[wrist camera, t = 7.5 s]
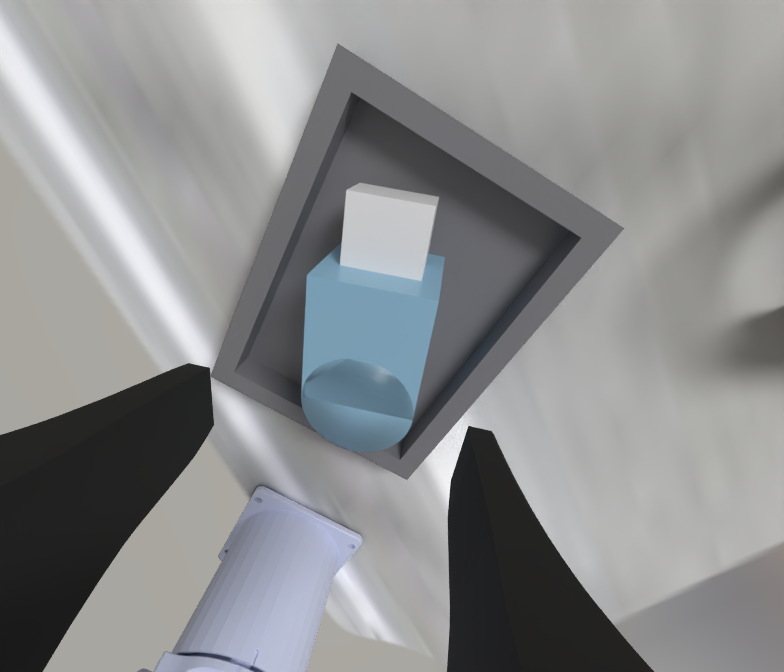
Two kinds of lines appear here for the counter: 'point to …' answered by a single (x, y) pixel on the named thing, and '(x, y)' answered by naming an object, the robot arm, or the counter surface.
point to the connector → (371, 319)
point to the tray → (449, 239)
